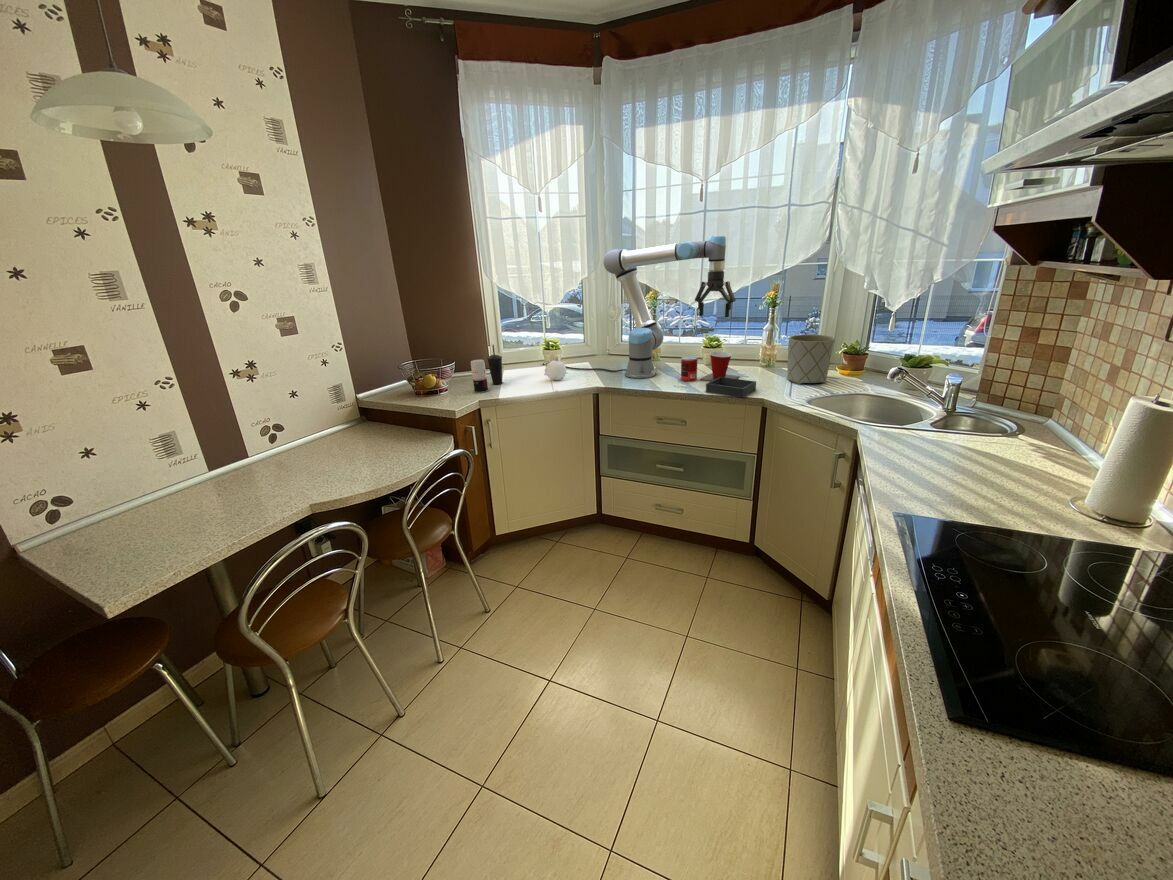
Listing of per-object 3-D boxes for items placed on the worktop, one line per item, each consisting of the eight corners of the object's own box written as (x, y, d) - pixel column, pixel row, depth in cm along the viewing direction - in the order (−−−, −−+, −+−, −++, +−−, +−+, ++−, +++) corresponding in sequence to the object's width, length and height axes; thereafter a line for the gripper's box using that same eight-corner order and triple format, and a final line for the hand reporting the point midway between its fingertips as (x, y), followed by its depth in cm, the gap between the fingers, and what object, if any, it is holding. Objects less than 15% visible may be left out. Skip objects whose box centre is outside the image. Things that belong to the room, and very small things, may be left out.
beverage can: (482, 388, 238) (478, 358, 233) (490, 390, 234) (487, 360, 229) (471, 391, 234) (467, 361, 228) (480, 393, 230) (476, 362, 224)
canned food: (698, 378, 238) (699, 356, 234) (694, 382, 231) (695, 359, 227) (683, 377, 241) (683, 355, 237) (679, 381, 234) (679, 358, 230)
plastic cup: (731, 380, 229) (733, 355, 224) (708, 380, 231) (709, 355, 226) (730, 374, 238) (731, 350, 234) (707, 374, 241) (709, 351, 236)
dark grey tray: (705, 392, 214) (706, 383, 212) (719, 385, 224) (720, 376, 222) (742, 397, 203) (743, 388, 202) (755, 390, 213) (756, 381, 212)
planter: (817, 374, 232) (823, 333, 225) (836, 385, 215) (842, 340, 207) (778, 376, 233) (782, 335, 226) (793, 386, 215) (798, 342, 208)
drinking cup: (507, 381, 248) (503, 343, 241) (500, 385, 241) (495, 346, 234) (494, 381, 251) (490, 343, 243) (487, 385, 244) (482, 345, 237)
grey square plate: (699, 379, 234) (699, 378, 234) (712, 373, 244) (712, 372, 244) (726, 383, 226) (726, 382, 225) (739, 377, 235) (739, 376, 235)
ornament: (570, 379, 248) (569, 356, 243) (556, 383, 241) (554, 360, 236) (557, 376, 254) (555, 354, 250) (542, 380, 247) (541, 357, 243)
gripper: (744, 269, 221) (741, 316, 229) (696, 270, 237) (694, 314, 244) (737, 270, 216) (734, 318, 224) (688, 271, 231) (687, 316, 239)
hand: (713, 316), depth 234 cm, fingers open, 13 cm apart
